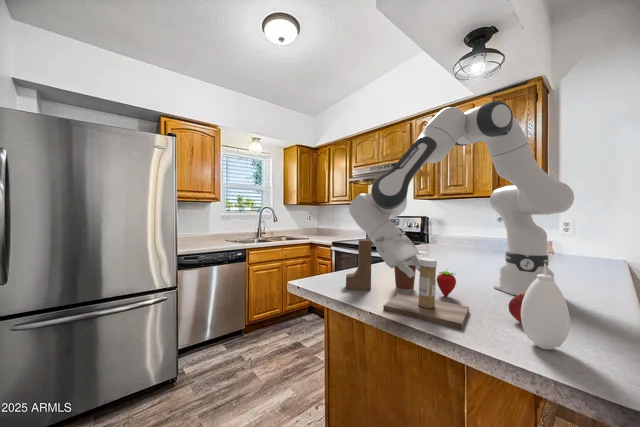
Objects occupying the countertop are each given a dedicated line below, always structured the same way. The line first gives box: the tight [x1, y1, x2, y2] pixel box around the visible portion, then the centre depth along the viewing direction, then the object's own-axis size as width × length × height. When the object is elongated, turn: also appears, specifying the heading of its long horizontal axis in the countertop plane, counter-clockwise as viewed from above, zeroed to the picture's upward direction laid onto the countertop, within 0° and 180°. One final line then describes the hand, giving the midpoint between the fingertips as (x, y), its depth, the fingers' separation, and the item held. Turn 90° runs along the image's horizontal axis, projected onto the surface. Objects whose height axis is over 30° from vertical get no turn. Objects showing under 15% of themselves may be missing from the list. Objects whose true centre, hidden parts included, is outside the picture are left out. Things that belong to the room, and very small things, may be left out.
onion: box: [508, 292, 525, 324], centre depth 67 cm, size 6×6×8 cm
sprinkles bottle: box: [418, 257, 438, 308], centre depth 74 cm, size 5×5×14 cm
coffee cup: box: [393, 260, 417, 292], centre depth 96 cm, size 9×9×12 cm
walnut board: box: [382, 292, 470, 331], centre depth 74 cm, size 14×20×2 cm
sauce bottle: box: [521, 263, 571, 351], centre depth 55 cm, size 8×8×18 cm
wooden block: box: [345, 238, 373, 291], centre depth 96 cm, size 9×4×18 cm, turn 84°
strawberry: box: [436, 268, 457, 298], centre depth 88 cm, size 6×8×10 cm
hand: (418, 273), depth 75 cm, fingers open, 8 cm apart
